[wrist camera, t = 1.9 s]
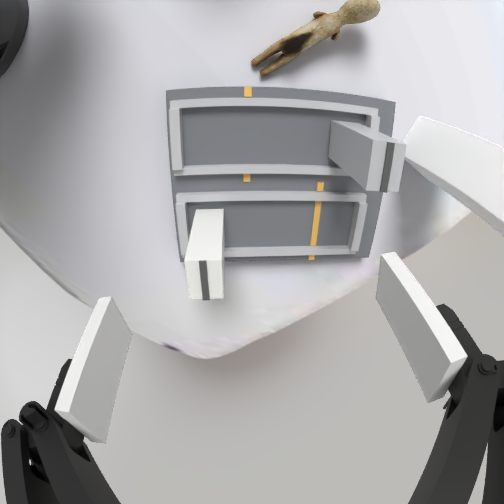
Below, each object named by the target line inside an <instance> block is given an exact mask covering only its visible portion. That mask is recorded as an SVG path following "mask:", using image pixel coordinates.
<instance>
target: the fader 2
mask: <svg viewBox="0 0 504 504" xmlns="http://www.w3.org/2000/svg"><path fill="white" fill-rule="evenodd" d="M406 146H407V144H404V143H402V142H400V141H398V140H396V139H394V138H392V137H389V136H387V135H385V134H383V133H380V132H378V131H376V130H374V129H371V128H369V127H366V126H364V125H362V124H359V123H353V122H344V121H335V120H331V133H330V144H329V155H328V157H329V158H330V159H331V160H333V161H334V162H335V163H336V164H337V165H338V166H340V167H341V168H342V169H343V170H344V171H345V172H346V173H347V174H349V175H350V176H351V177H352V178H353V179H354V180H355V181H356V182H357V183H358V184H360V185H361V186H362V187H363V188H364V189H365V190H367V191H380V192H386V193H387V192H398V191H399V186H400V181H401V176H402V170H403V164H404V158H405V152H406Z"/></svg>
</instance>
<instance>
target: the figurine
mask: <svg viewBox="0 0 504 504" xmlns="http://www.w3.org/2000/svg"><path fill="white" fill-rule="evenodd" d="M379 11H380V4H379V2H378V1H377V0H348V1H347V2H346V3H345V4H344V5H343V6H342V7H341V8H340V10H339V11H337V12H334V13H330V14H326V13H323V12H316V13H314V14H313V15H314V17H317V19H315V20H313V21H311V22H309V23H308V24H306V25H304V26H303V27H301V28H299V29H298V30H296V31H294V32H293V33H292V34H290V35H289V36H287V37H285V38H283V39H281V40H279V41H278V42H276V43H275V44H273V45H272V46H270V47H269V48H268V49H267V50H266V51H264V52H263V53H262V54H260V55H259V56H257V57H256V58H254V59H253V60H252V61H251V63H252V65H253V66H257V65H259V64H260V63H261V62H263V61H264V60H266V59H267V58H269V57H270V56H272V55H274V54H276V53H278V52H280V51H282V52H283V54H282V55H280V56H279V57H278V58H277V59H276V60H275V61H274V62H272V63H271V64H270V65H268V66H267V67H265V68H264V69H262V70H261V71H260V74H261V75H262V76H266V75H268V74H269V73H271V72H273V71H274V70H276V69H278V68H279V67H281V66H283V65H284V64H286V63H288V62H289V61H291V60H292V59H293V58H295V57H296V56H298V55H299V54H300V53H302V52H303V51H305V50H307V49H309V48H311V47H312V46H314V45H315V44H317V43H318V42H320V41H322V40H324V39H326V38H328V37H329V36H331V35H332V36H331V39H332V40H337V38H338V37H339V34H340V31H339V30H340V28H341V27H342V26H343V25H345V24H356V23H362V22H365V21H368V20H371V19H373V18H374V17H376V16H377V15H378V13H379Z"/></svg>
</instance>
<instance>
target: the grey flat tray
mask: <svg viewBox="0 0 504 504" xmlns="http://www.w3.org/2000/svg"><path fill="white" fill-rule="evenodd" d="M395 103H396V102H392V101H387V100H382V99H377V98H371V97H365V96H358V95H352V94H344V93H337V92H328V91H319V90H308V89H294V88H277V87H206V88H189V89H176V90H167V91H166V105H167V126H168V144H169V158H170V171H171V183H172V194H173V204H174V214H175V223H176V231H177V240H178V248H179V255H180V262H184V260H185V255H186V250H187V246H188V242H189V237H190V233H191V228H192V224H193V220H194V216H195V212H196V209H224V237H225V246H224V261H256V260H296V259H308V260H314V259H332V258H365V257H369V254H370V250H371V246H372V242H373V238H374V233H375V229H376V224H377V220H378V215H379V210H380V205H381V200H382V195H383V192H380V191H367V190H365V189H364V188H363V187H362V186H361V185H360V184H358V183H357V182H356V181H355V180H354V179H353V178H352V177H351V176H350V175H349V174H347V173H346V172H345V171H344V170H343V169H342V168H341V167H340V166H338V165H337V164H336V163H335V162H334V161H333V160H331V159H330V158H329V157H328V155H329V144H330V133H331V120H335V121H344V122H353V123H359V124H362V125H364V126H366V127H369V128H371V129H374V130H376V131H378V132H380V133H383V134H385V135H387V136H389V137H392V131H393V122H394V113H395Z"/></svg>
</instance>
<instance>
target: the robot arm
mask: <svg viewBox="0 0 504 504" xmlns="http://www.w3.org/2000/svg"><path fill="white" fill-rule="evenodd" d="M27 20H28V2H27V0H0V77H1V75H2V74H3V73H4V72H5V71H6V69H7V68H8V67H9V65H10V64H11V62H12V61H13V59H14V57H15V55H16V53H17V51H18V49H19V47H20V45H21V42H22V40H23V37H24V33H25V30H26V26H27ZM376 300H377V301H378V303H379V305H380V307H381V309H382V310H383V312H384V314H385V316H386V318H387V320H388V322H389V324H390V326H391V328H392V329H393V331H394V333H395V335H396V337H397V339H398V341H399V343H400V345H401V347H402V349H403V351H404V353H405V355H406V357H407V359H408V361H409V363H410V365H411V368H412V370H413V372H414V374H415V376H416V378H417V380H418V382H419V384H420V387H421V389H422V391H423V393H424V396H425V398H426V400H427V402H428V403H429V402H432V401H435V400H437V399H440V398H442V397H443V396H444V395H445V393H446V392H447V390H449V392H450V394H451V397H450V398H449V399H448V401H447V402H446V404H445V405H444V407H443V409H446V412H445V415H444V418H443V421H442V425H441V427H440V431H439V434H438V436H437V439H436V442H435V444H434V447H433V450H432V452H431V455H430V457H429V460H428V462H427V464H426V467H425V469H424V471H423V474H422V476H421V478H420V480H419V482H418V485H417V487H416V489H415V491H414V493H413V495H412V497H411V499H410V501H409V503H408V504H468V501H469V499H470V496H471V493H472V491H473V488H474V485H475V482H476V479H477V476H478V474H479V470H480V467H481V464H482V461H483V457H484V453H485V450H486V446H487V442H488V453H487V468H486V478H485V486H484V494H483V500H482V504H504V360H503V361H496V360H495V359H494V358H493V357H492V356H490V355H487V354H482V352H481V351H480V350H479V348H478V347H477V345H476V343H475V342H474V340H473V339H472V337H471V336H470V334H469V333H468V331H467V330H466V328H464V325H463V324H462V322H461V321H459V318H458V317H457V315H456V314H455V312H454V311H453V310H452V309H450V308H449V307H448V306H446V305H445V304H442V305H438V306H435V305H434V304H433V302H432V301H431V299H430V298H429V297H428V295H427V294H426V293H425V291H424V290H423V288H422V287H421V285H420V284H419V283H418V281H417V280H416V279H415V277H414V276H413V275H412V273H411V272H410V271H409V269H408V268H407V267H406V265H405V264H404V263H403V261H402V260H401V259H400V258H399V256H398V255H397V254H396V252H390V253H385V254H381V259H380V268H379V277H378V285H377V292H376ZM131 338H132V333H131V331H130V329H129V327H128V326H127V324H126V322H125V320H124V319H123V317H122V315H121V313H120V311H119V309H118V307H117V306H116V304H115V302H114V300H113V298H112V296H111V297H103V298H99V300H98V302H97V304H96V306H95V308H94V310H93V313H92V315H91V317H90V319H89V322H88V324H87V326H86V328H85V331H84V333H83V335H82V338H81V340H80V342H79V345H78V347H77V350H76V352H75V355H74V357H73V359H68V360H67V362H66V363H65V364H64V365H63V367H62V368H61V371H60V374H59V378H58V379H57V381H56V386H55V387H54V389H53V392H52V395H51V398H50V400H49V404H48V406H47V409H46V410H45V409H44V408H43V407H42V406H41V405H40V404H39V403H37V402H35V401H31V402H28V403H26V404H25V406H23V408H22V409H21V411H20V415H19V421H20V422H21V423H22V424H24V425H21V424H20V423H19V422H18V421H17V420H14V419H10V420H8V421H7V422H6V423H5V424H4V425H3V428H2V432H1V447H2V466H3V478H4V487H5V495H6V501H7V504H121V503H120V502H119V501H118V499H117V497H116V496H115V494H114V493H113V491H112V489H111V488H110V487H109V485H108V483H107V481H106V480H105V478H104V476H103V475H102V473H101V471H100V469H99V468H98V466H97V464H96V462H95V461H94V458H93V457H92V455H91V453H90V451H89V449H88V447H87V445H86V444H85V443H84V442H83V440H84V436H85V437H86V438H88V439H89V440H90V441H92V442H97V443H106V440H107V435H108V430H109V425H110V420H111V416H112V411H113V407H114V403H115V398H116V394H117V390H118V386H119V382H120V378H121V374H122V370H123V366H124V363H125V359H126V355H127V352H128V348H129V344H130V341H131ZM446 407H447V408H446ZM29 459H30V460H31V465H30V464H29Z"/></svg>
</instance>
